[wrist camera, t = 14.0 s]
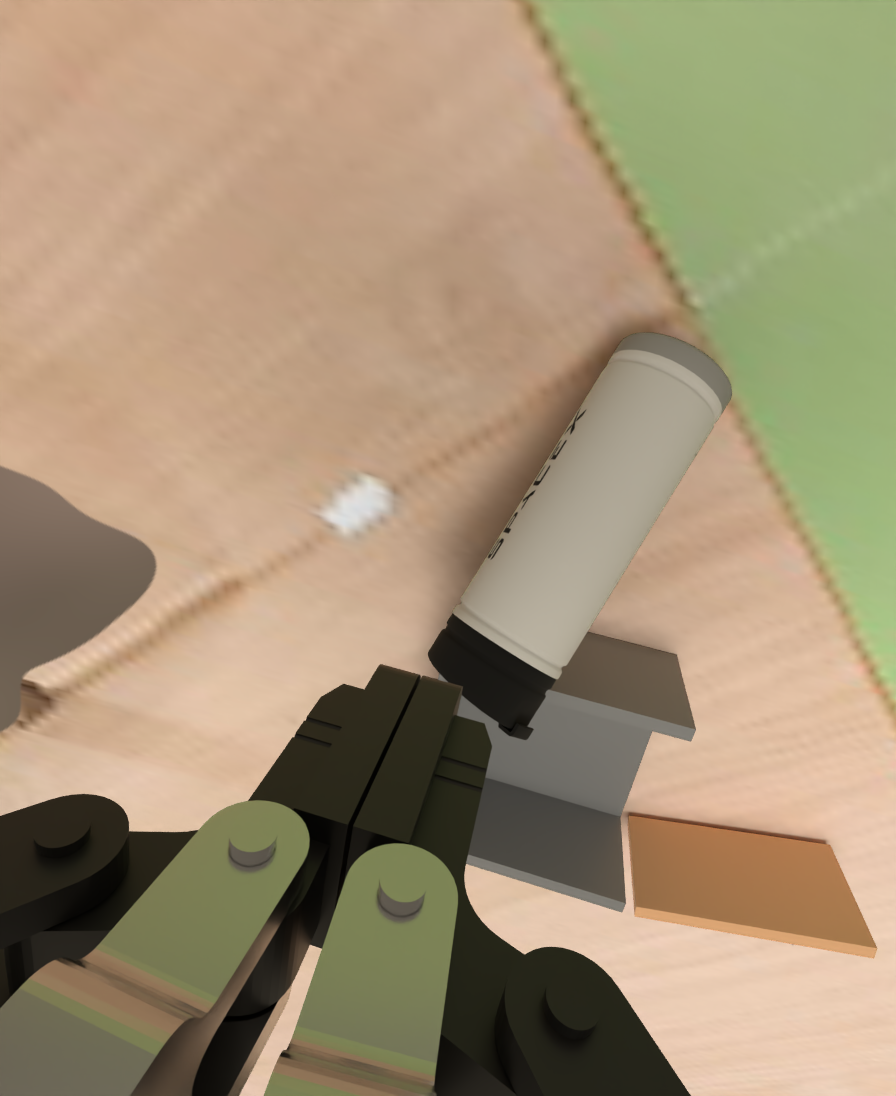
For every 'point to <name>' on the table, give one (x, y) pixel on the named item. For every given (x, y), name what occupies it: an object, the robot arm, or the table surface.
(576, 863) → the storage box
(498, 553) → the travel mug
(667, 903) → the side door
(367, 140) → the table surface
